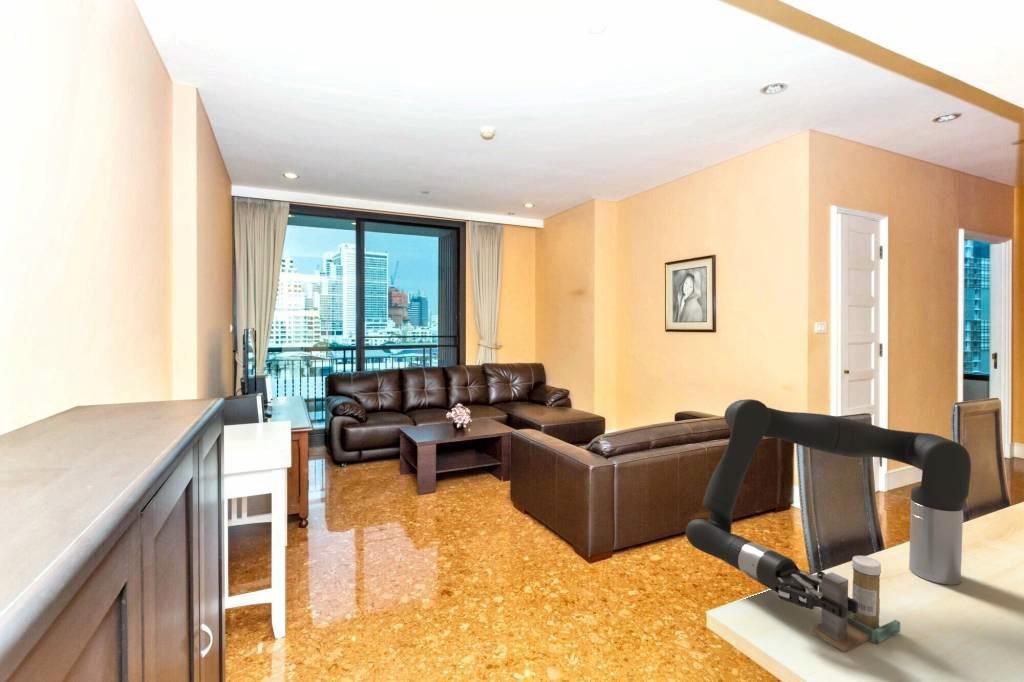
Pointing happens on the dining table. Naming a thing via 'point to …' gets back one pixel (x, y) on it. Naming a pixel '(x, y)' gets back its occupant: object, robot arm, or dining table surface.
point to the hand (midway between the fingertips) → (850, 610)
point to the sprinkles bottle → (866, 590)
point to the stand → (847, 619)
